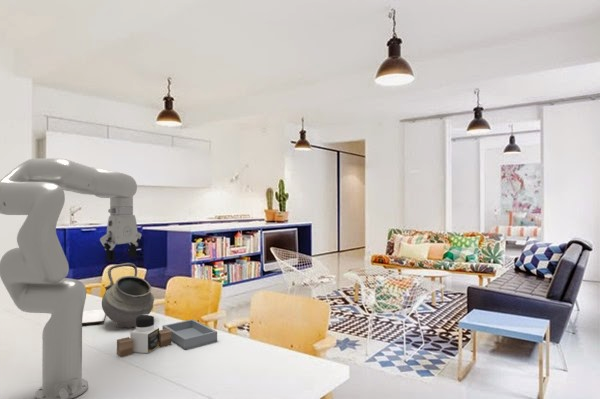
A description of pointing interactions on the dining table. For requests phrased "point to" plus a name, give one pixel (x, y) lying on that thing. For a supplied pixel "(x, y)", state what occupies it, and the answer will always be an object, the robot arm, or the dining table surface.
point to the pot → (127, 298)
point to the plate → (93, 317)
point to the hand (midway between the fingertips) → (121, 259)
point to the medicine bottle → (145, 334)
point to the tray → (191, 334)
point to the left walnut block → (124, 347)
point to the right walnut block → (164, 337)
